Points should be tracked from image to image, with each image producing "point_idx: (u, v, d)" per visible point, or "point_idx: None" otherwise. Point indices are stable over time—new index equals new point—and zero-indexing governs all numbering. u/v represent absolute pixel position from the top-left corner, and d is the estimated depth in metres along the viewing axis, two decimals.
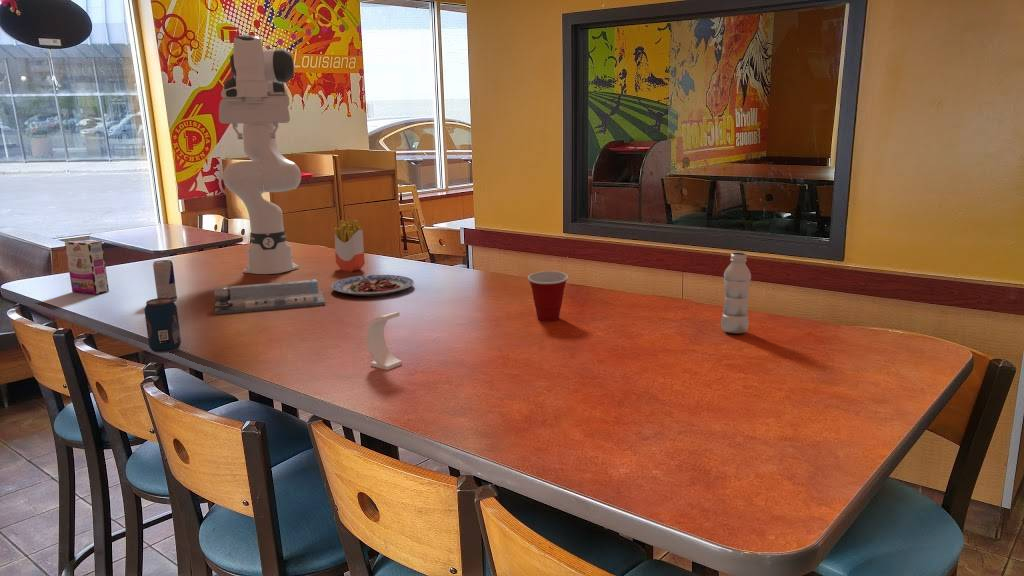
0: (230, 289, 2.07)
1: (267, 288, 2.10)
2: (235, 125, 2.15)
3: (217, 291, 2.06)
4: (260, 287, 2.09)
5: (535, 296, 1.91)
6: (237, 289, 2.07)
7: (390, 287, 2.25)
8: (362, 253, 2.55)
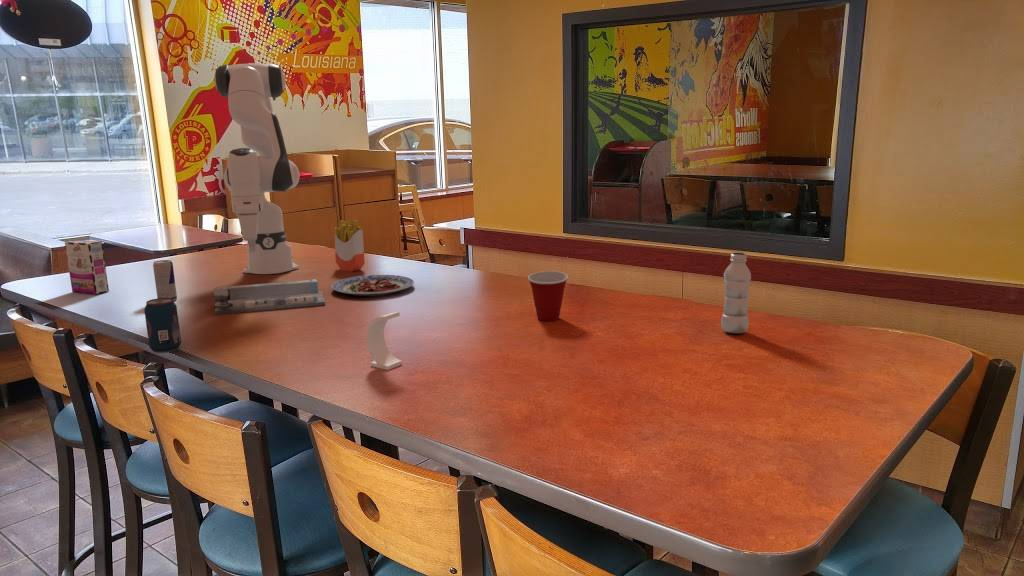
0: (230, 289, 2.07)
1: (267, 288, 2.10)
2: None
3: (217, 291, 2.06)
4: (260, 287, 2.09)
5: (535, 296, 1.91)
6: (237, 289, 2.07)
7: (390, 287, 2.25)
8: (362, 253, 2.55)
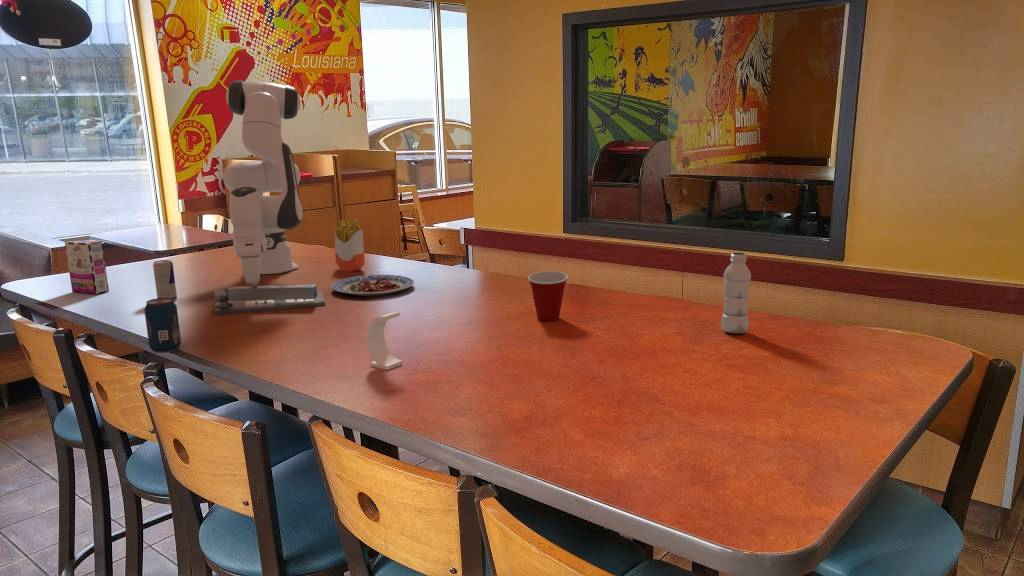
0: (228, 290, 2.06)
1: (264, 290, 2.07)
2: None
3: (215, 291, 2.06)
4: (257, 289, 2.07)
5: (535, 296, 1.91)
6: (235, 290, 2.06)
7: (390, 287, 2.25)
8: (362, 253, 2.55)
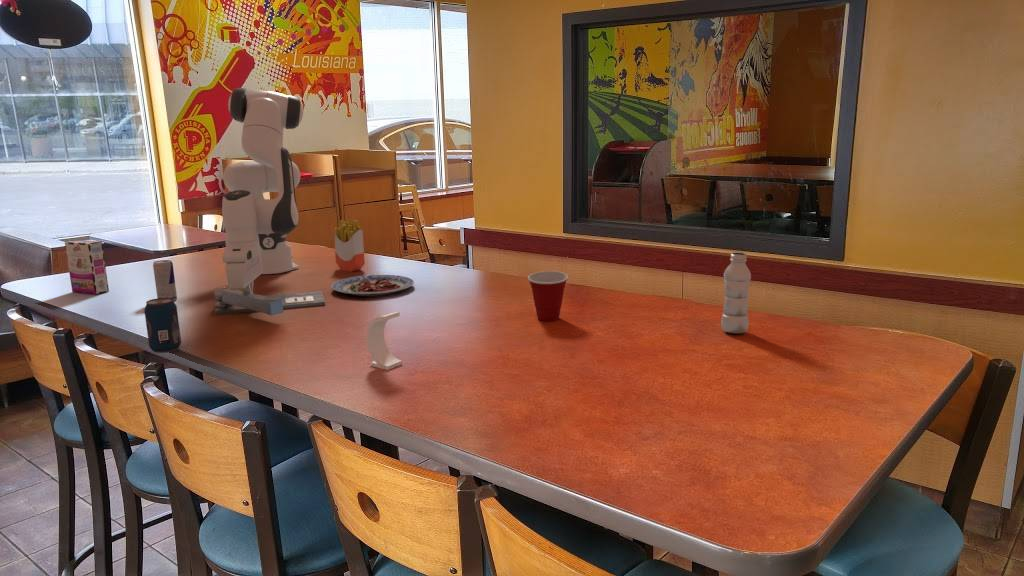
0: (221, 291, 2.05)
1: (241, 297, 1.99)
2: (249, 284, 2.03)
3: (214, 290, 2.07)
4: (237, 295, 2.00)
5: (535, 296, 1.91)
6: (225, 292, 2.04)
7: (390, 287, 2.25)
8: (362, 253, 2.55)
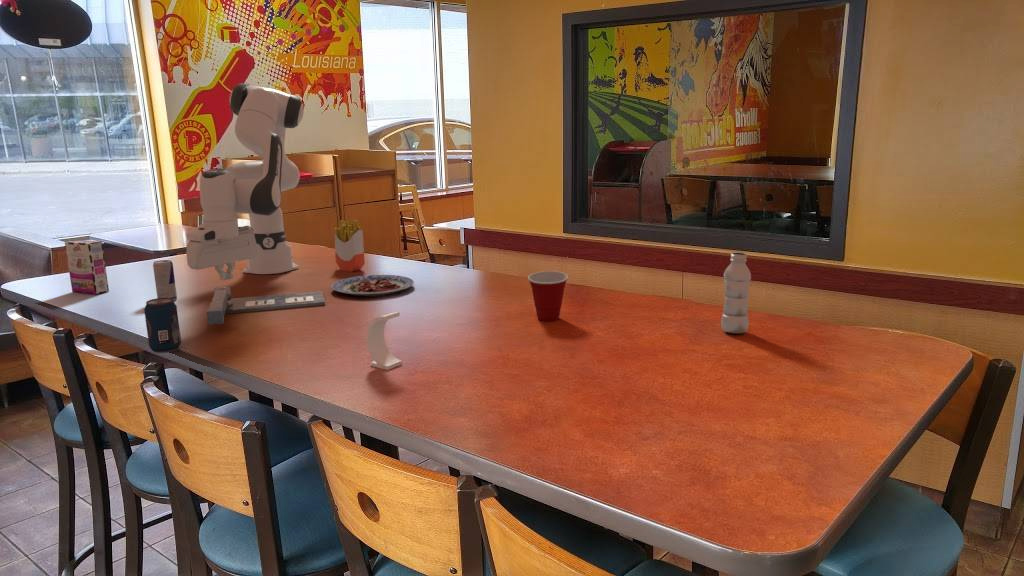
0: (215, 291, 2.05)
1: None
2: (222, 266, 1.96)
3: None
4: None
5: (535, 296, 1.91)
6: (215, 293, 2.03)
7: (390, 287, 2.25)
8: (362, 253, 2.55)
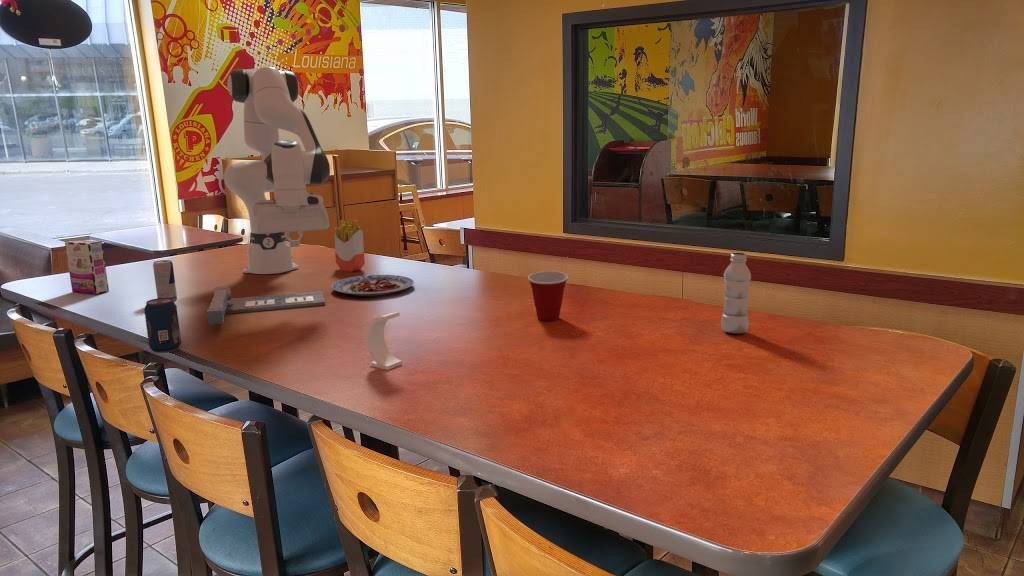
0: (215, 291, 2.05)
1: None
2: None
3: None
4: None
5: (535, 296, 1.91)
6: (215, 293, 2.03)
7: (390, 287, 2.25)
8: (362, 253, 2.55)
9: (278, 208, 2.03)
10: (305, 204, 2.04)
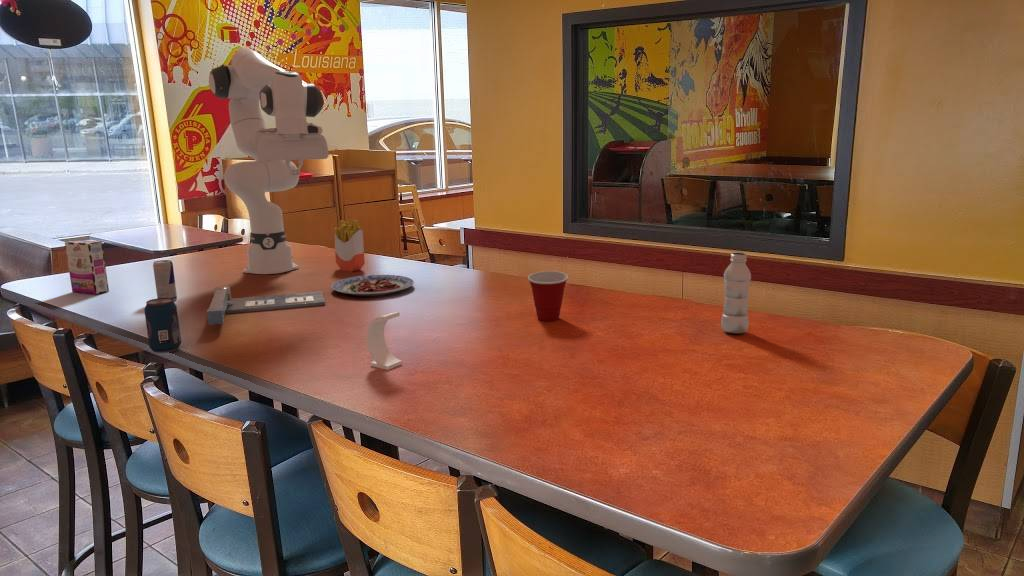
0: (215, 291, 2.05)
1: None
2: None
3: None
4: None
5: (535, 296, 1.91)
6: (215, 293, 2.03)
7: (390, 287, 2.25)
8: (362, 253, 2.55)
9: (279, 136, 2.11)
10: (305, 133, 2.11)
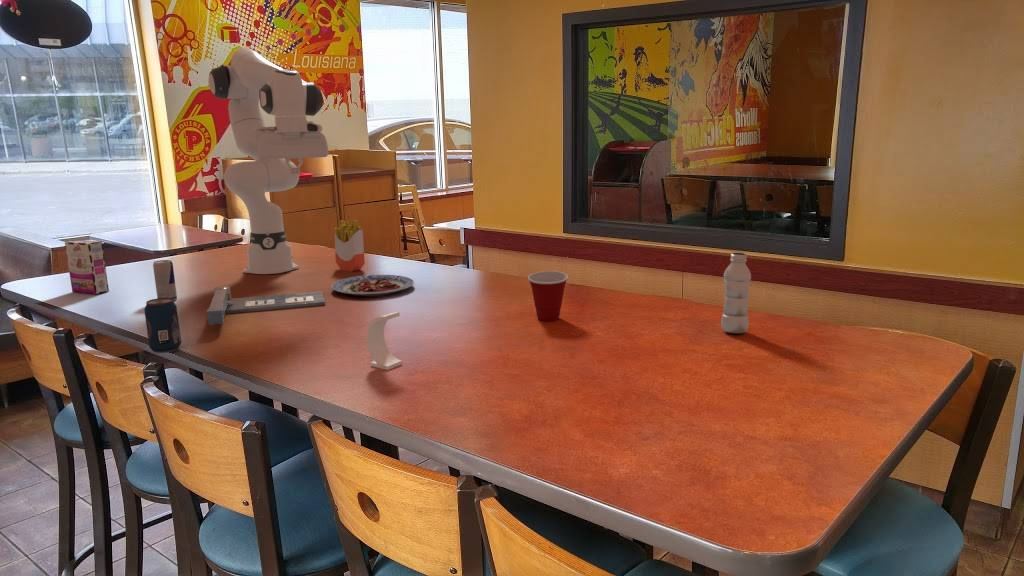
0: (215, 291, 2.05)
1: None
2: None
3: None
4: None
5: (535, 296, 1.91)
6: (215, 293, 2.03)
7: (390, 287, 2.25)
8: (362, 253, 2.55)
9: (279, 135, 2.11)
10: (305, 131, 2.11)
